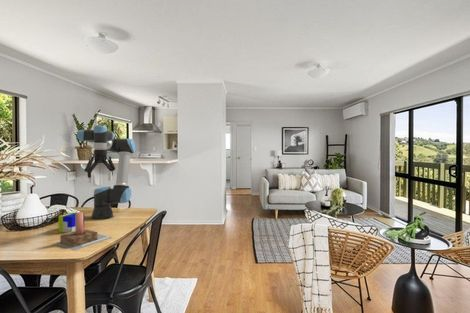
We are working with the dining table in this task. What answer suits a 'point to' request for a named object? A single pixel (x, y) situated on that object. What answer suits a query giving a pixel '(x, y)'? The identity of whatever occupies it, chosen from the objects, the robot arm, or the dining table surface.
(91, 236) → the brown wooden square block
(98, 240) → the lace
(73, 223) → the puzzle toy
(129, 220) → the dining table surface
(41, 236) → the dining table surface
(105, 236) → the mat
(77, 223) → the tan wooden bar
